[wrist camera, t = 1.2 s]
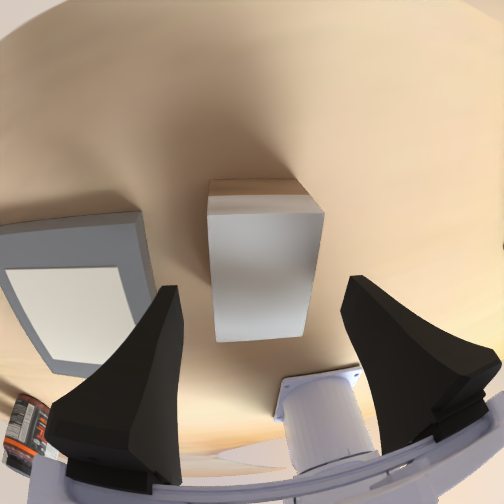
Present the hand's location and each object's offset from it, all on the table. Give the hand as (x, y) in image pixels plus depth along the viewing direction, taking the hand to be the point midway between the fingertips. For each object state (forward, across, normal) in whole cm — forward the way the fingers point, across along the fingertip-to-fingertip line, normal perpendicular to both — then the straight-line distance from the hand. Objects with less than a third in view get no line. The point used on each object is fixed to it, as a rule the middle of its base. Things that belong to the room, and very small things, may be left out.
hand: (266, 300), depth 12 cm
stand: (+5, +12, +5) cm, 14 cm away
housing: (+5, 0, 0) cm, 5 cm away
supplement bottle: (+5, +29, +24) cm, 38 cm away
